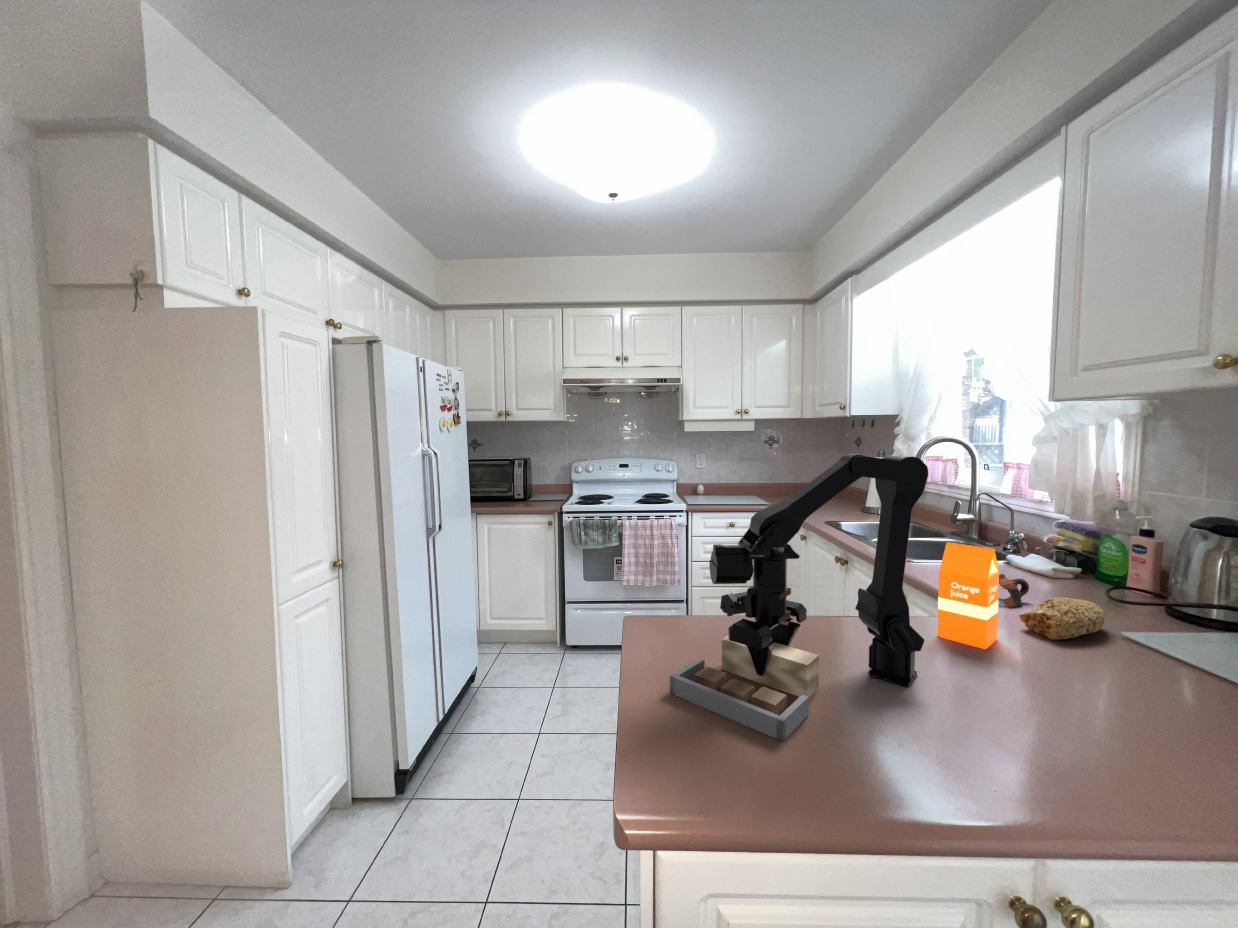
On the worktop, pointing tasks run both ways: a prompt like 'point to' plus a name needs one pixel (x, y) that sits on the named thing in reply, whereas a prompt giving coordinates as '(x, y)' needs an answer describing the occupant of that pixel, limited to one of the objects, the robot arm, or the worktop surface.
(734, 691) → the block
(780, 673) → the block
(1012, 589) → the pottery mug
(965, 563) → the orange juice
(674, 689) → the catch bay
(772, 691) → the walnut chip
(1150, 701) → the worktop surface
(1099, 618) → the tan porous lump
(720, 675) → the walnut chip
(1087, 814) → the worktop surface
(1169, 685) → the worktop surface
